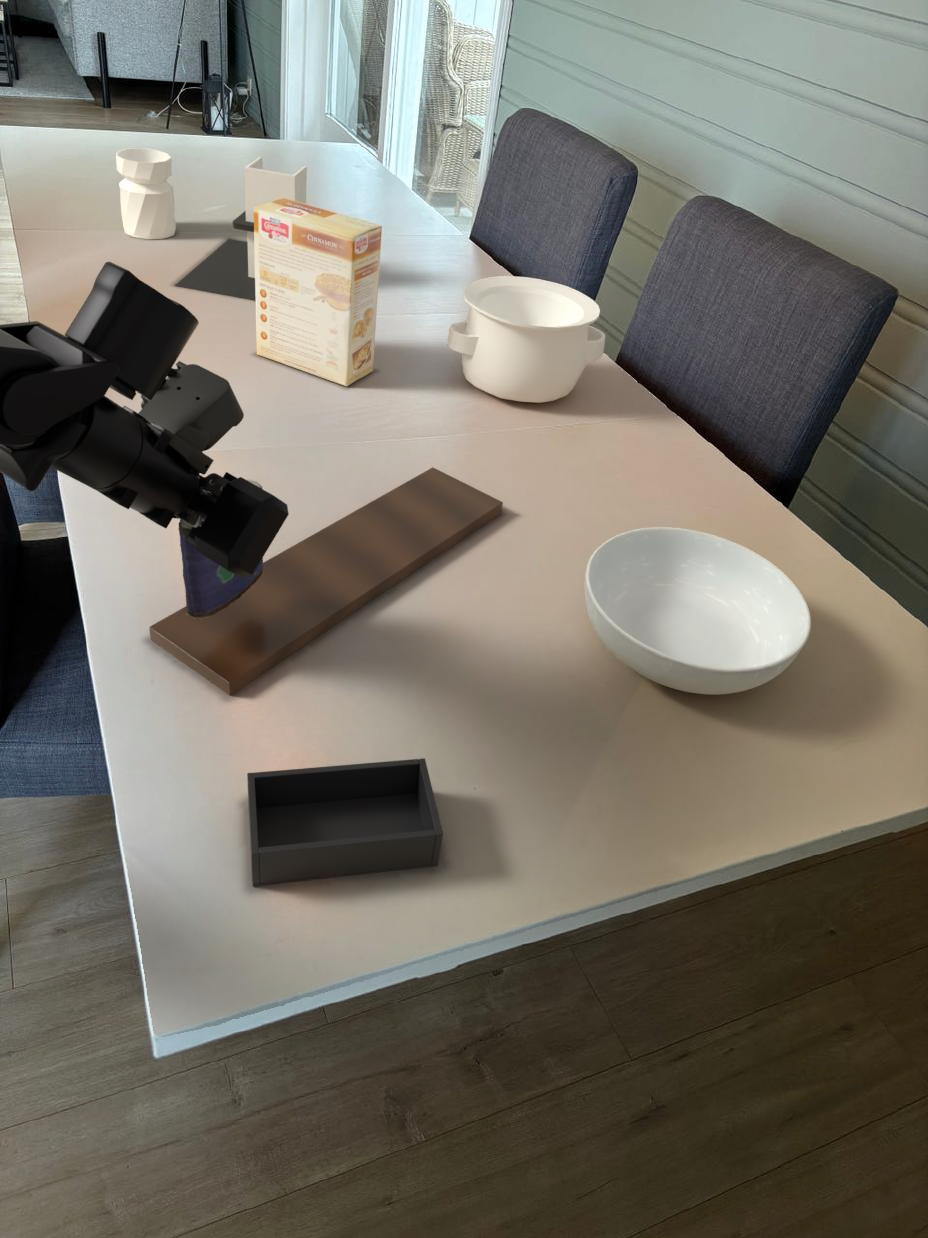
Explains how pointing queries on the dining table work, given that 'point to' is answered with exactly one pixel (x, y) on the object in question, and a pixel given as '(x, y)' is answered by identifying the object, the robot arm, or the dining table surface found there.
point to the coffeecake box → (316, 289)
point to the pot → (526, 337)
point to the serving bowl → (694, 610)
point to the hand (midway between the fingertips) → (236, 523)
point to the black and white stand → (236, 259)
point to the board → (326, 579)
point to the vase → (146, 193)
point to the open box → (342, 821)
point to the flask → (210, 579)
